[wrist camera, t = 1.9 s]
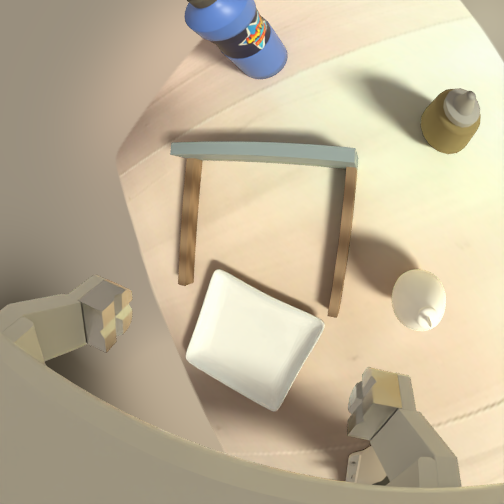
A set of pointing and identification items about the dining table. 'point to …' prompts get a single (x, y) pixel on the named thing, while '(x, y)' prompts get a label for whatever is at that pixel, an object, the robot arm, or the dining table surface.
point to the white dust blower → (418, 300)
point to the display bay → (268, 154)
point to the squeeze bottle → (451, 120)
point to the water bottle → (239, 34)
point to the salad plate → (251, 340)
